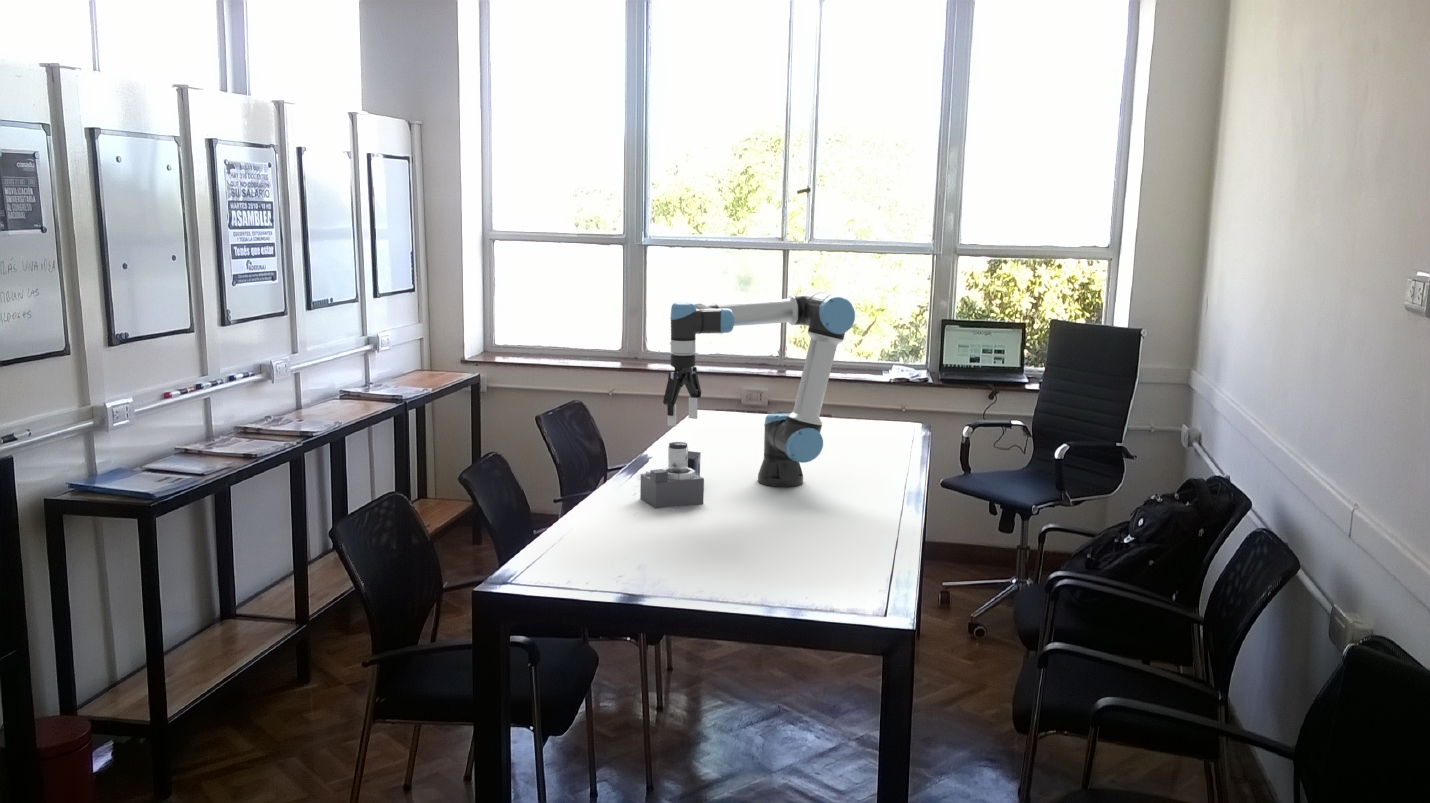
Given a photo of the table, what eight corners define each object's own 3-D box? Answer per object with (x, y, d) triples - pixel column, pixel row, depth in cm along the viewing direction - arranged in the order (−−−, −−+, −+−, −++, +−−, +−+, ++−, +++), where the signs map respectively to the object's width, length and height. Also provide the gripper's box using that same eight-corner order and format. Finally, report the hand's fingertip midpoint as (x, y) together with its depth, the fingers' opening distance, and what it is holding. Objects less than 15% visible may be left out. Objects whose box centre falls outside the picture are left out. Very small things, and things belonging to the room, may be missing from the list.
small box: (693, 490, 354) (694, 458, 352) (674, 488, 355) (674, 457, 353) (700, 482, 364) (701, 451, 362) (681, 480, 365) (682, 450, 364)
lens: (691, 475, 340) (691, 443, 338) (680, 478, 335) (680, 446, 334) (675, 472, 343) (676, 441, 342) (664, 475, 339) (664, 444, 337)
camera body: (686, 494, 349) (687, 460, 347) (703, 503, 338) (704, 468, 336) (640, 498, 342) (640, 464, 340) (655, 508, 331) (656, 473, 329)
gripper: (691, 348, 346) (690, 414, 350) (651, 357, 324) (651, 428, 328) (712, 349, 343) (711, 416, 347) (674, 359, 321) (673, 430, 325)
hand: (682, 422), depth 337 cm, fingers open, 13 cm apart
